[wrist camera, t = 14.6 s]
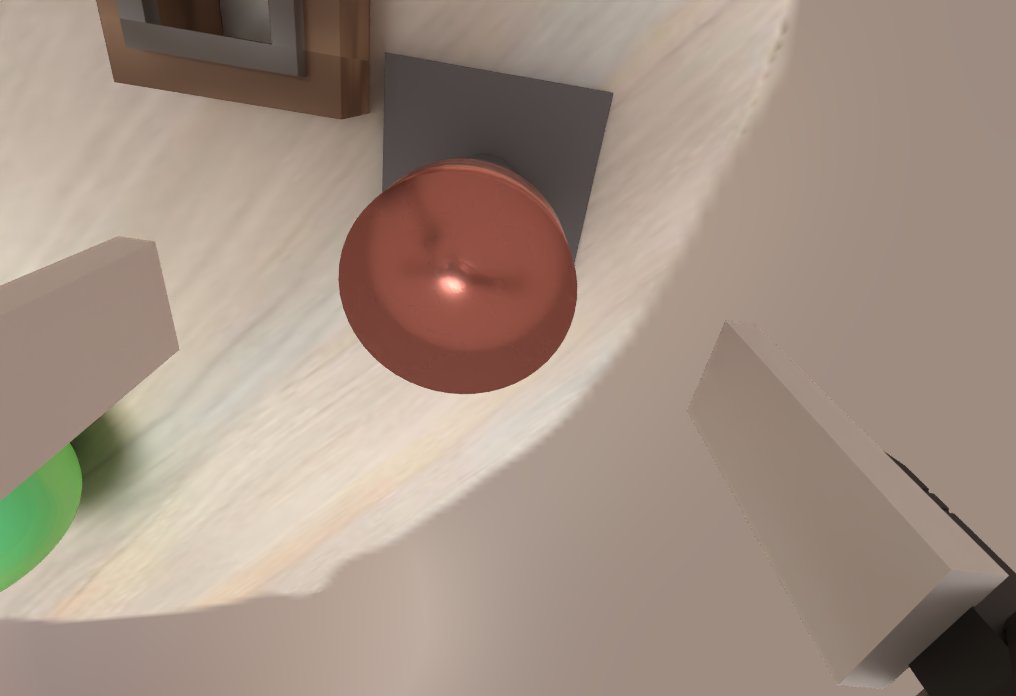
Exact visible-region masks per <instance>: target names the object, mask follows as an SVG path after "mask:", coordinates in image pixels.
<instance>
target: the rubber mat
mask: <svg viewBox="0 0 1016 696" xmlns="http://www.w3.org/2000/svg"><path fill="white" fill-rule="evenodd" d="M612 97H613V93H611V92H605V91H600V90H594V89H588V88H583V87H577V86H571V85H566V84H560V83H554V82H549V81H543V80H537V79H532V78H526V77H520V76H515V75H509V74H503V73H498V72H492V71H486V70H481V69H475V68H470V67H464V66H458V65H453V64H447V63H441V62H436V61H430V60H424V59H419V58H413V57H407V56H402V55H396V54H390V53H385V93H384V140H383V187H382V193H383V192H384V191H385V190H386V189H387V188H388V187H390V186H391V185H392V184H393V183H394V182H396V181H397V180H398V179H400V178H401V177H402V176H404V175H405V174H407V173H408V172H410V171H412V170H414V169H416V168H418V167H420V166H423V165H426V164H429V163H432V162H435V161H440V160H446V159H459V158H465V159H468V158H470V157H472V156H475V155H479V154H491V155H495V156H498V157H500V158H502V159H503V160H505V161H506V162H507V163H508V164H510V165H511V167H512V168H513V169H514V171H515V173H516V174H518V175H520V176H521V177H522V178H524V179H525V180H526V181H528V182H529V183H530V184H532V185H533V186H534V187H535V188H536V189H537V190H538V191H539V192H540V193H541V194H542V195H543V196H544V198H545V199H546V200H547V201H548V203H549V204H550V205H551V207H552V208H553V210H554V212H555V214H556V215H557V217H558V219H559V221H560V224H561V226H562V229H563V231H564V234H565V237H566V240H567V243H568V246H569V249H570V252H571V255H572V259H573V263H574V262H575V257H576V253H577V249H578V244H579V240H580V236H581V231H582V227H583V223H584V218H585V214H586V210H587V205H588V201H589V197H590V192H591V188H592V184H593V179H594V175H595V171H596V166H597V162H598V158H599V153H600V149H601V145H602V141H603V136H604V132H605V128H606V123H607V119H608V115H609V110H610V106H611V102H612Z"/></svg>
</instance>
